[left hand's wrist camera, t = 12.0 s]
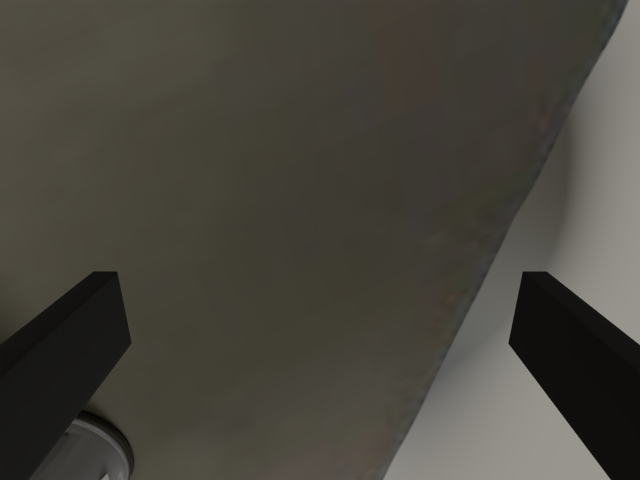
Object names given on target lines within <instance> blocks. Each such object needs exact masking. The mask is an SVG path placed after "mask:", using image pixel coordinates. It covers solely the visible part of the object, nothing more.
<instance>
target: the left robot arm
mask: <svg viewBox="0 0 640 480" xmlns="http://www.w3.org/2000/svg"><path fill="white" fill-rule="evenodd" d="M130 345H131V338H130V333H129V328H128V323H127V318H126V313H125V309H124V304H123V299H122V294H121V289H120V284H119V279H118V274H117V272H92V273H91V274H90V275H88V276H87V277H86V278H85V279H83V280H82V281H81V282H80V283H78V284H77V285H76V286H74V287H73V288H72V289H71V290H69V291H68V292H67V293H66V294H64V295H63V296H62V297H61V298H59V299H58V300H57V301H55V302H54V303H53V304H52V305H50V306H49V307H48V308H47V309H45V310H44V311H43V312H42V313H40V314H39V315H38V316H36V317H35V318H34V319H33V320H31V321H30V322H29V323H28V324H26V325H25V326H24V327H23V328H21V329H20V330H19V331H17V332H16V333H15V334H14V335H12V336H11V337H10V338H9V339H7V340H6V341H5V342H4V343H2V344H1V345H0V480H129V479H130V477H131V475H132V472H133V468H134V458H133V454H132V451H131V448H130V446H129V444H128V443H127V441H126V440H125V438H124V437H123V436H122V435H121V434H120V433H119V432H118V431H117V430H116V429H115V428H114V427H112V426H111V425H110V424H108V423H107V422H105V421H103V420H101V419H100V418H97V417H95V416H93V415H90V414H88V413H85V412H81V410H82V409H83V407H84V406H85V405H86V403H87V402H88V401H89V399H90V398H91V397H92V395H93V394H94V393H95V391H96V390H97V389H98V387H99V386H100V385H101V383H102V382H103V381H104V379H105V378H106V377H107V375H108V374H109V373H110V371H111V370H112V369H113V367H114V366H115V365H116V363H117V362H118V361H119V359H120V358H121V357H122V355H123V354H124V353H125V351H126V350H127V349H128V347H129V346H130ZM509 345H510V346H511V347H512V349H513V350H514V351H515V353H516V354H517V355H518V357H519V358H520V359H521V361H522V362H523V363H524V365H525V366H526V367H527V369H528V370H529V371H530V373H531V374H532V375H533V377H534V378H535V379H536V381H537V382H538V383H539V385H540V386H541V387H542V389H543V390H544V391H545V393H546V394H547V395H548V397H549V398H550V399H551V401H552V402H553V403H554V405H555V406H556V407H557V409H558V410H559V411H560V413H561V414H562V415H563V417H564V418H565V419H566V421H567V422H568V423H569V425H570V426H571V427H572V429H573V430H574V431H575V433H576V434H577V435H578V437H579V438H580V439H581V440H582V442H583V443H584V445H585V446H586V447H587V449H588V450H589V451H590V452H591V454H592V455H593V457H594V458H595V459H596V461H597V462H598V463H599V465H600V466H601V467H602V468H603V470H604V471H605V472H606V474H607V475H608V476H609V478H610V479H611V480H640V345H639V344H638V343H636V342H635V341H634V340H633V339H631V338H630V337H629V336H628V335H626V334H625V333H624V332H622V331H621V330H620V329H619V328H617V327H616V326H615V325H614V324H612V323H611V322H610V321H609V320H607V319H606V318H605V317H604V316H602V315H601V314H600V313H598V312H597V311H596V310H595V309H593V308H592V307H591V306H590V305H588V304H587V303H586V302H584V301H583V300H582V299H581V298H579V297H578V296H577V295H576V294H574V293H573V292H572V291H571V290H569V289H568V288H567V287H566V286H564V285H563V284H562V283H560V282H559V281H558V280H557V279H555V278H554V277H553V276H552V275H550V274H549V273H548V272H523V274H522V279H521V284H520V289H519V294H518V299H517V304H516V309H515V313H514V318H513V324H512V328H511V333H510V338H509Z"/></svg>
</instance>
